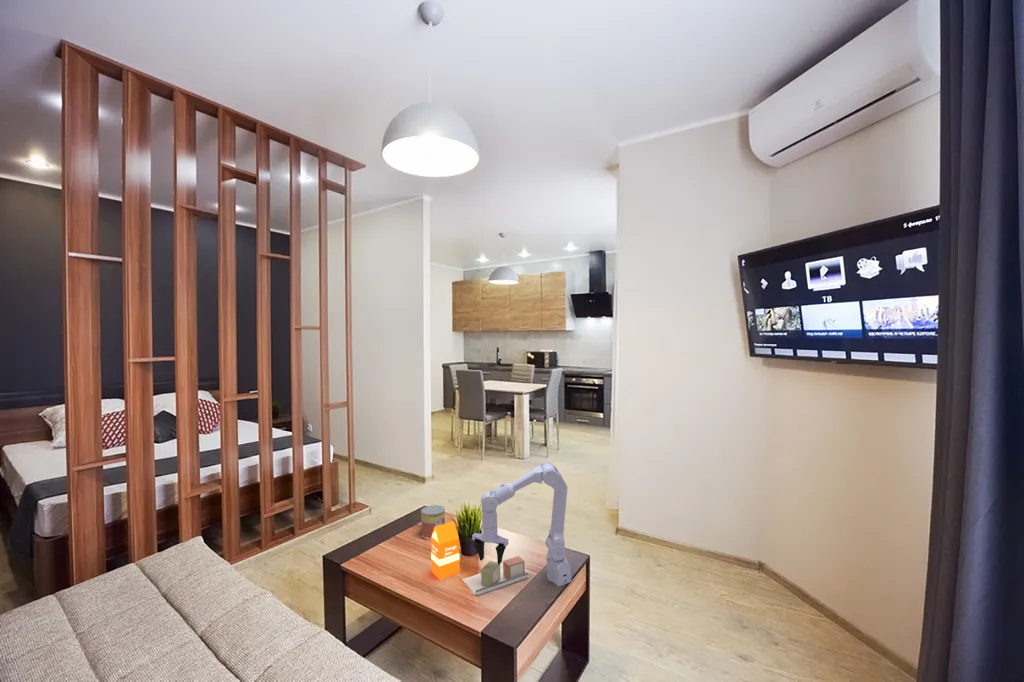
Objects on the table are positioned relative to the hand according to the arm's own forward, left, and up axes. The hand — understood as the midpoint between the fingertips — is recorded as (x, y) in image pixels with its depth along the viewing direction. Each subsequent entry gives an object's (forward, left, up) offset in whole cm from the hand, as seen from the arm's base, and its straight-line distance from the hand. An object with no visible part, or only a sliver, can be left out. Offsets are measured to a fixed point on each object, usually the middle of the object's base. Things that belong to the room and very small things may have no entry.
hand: (490, 561), depth 162 cm
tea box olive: (0, 0, -8) cm, 8 cm away
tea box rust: (-1, -9, -8) cm, 12 cm away
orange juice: (+17, +12, -9) cm, 22 cm away
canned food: (+54, +4, -9) cm, 54 cm away
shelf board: (+2, -2, -9) cm, 9 cm away
